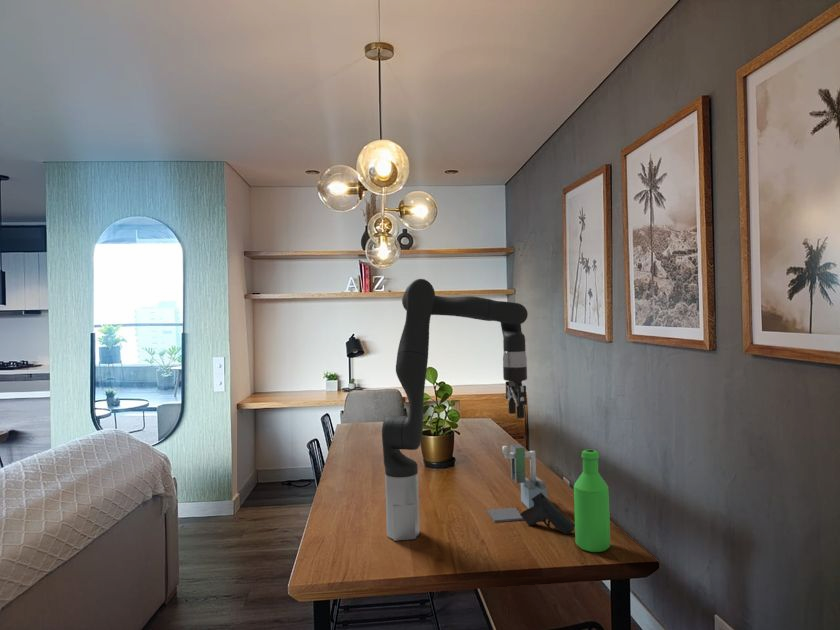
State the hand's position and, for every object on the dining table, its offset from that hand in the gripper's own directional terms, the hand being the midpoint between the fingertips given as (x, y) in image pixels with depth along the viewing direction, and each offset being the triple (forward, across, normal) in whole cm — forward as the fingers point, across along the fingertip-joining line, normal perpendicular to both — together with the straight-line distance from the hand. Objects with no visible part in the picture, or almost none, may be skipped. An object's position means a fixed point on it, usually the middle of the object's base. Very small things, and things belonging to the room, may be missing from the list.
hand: (516, 415), depth 176 cm
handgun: (+29, -20, -2) cm, 35 cm away
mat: (+29, -8, +7) cm, 31 cm away
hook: (+21, 0, 0) cm, 21 cm away
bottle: (+29, -34, -9) cm, 46 cm away
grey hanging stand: (+29, 0, -2) cm, 29 cm away
